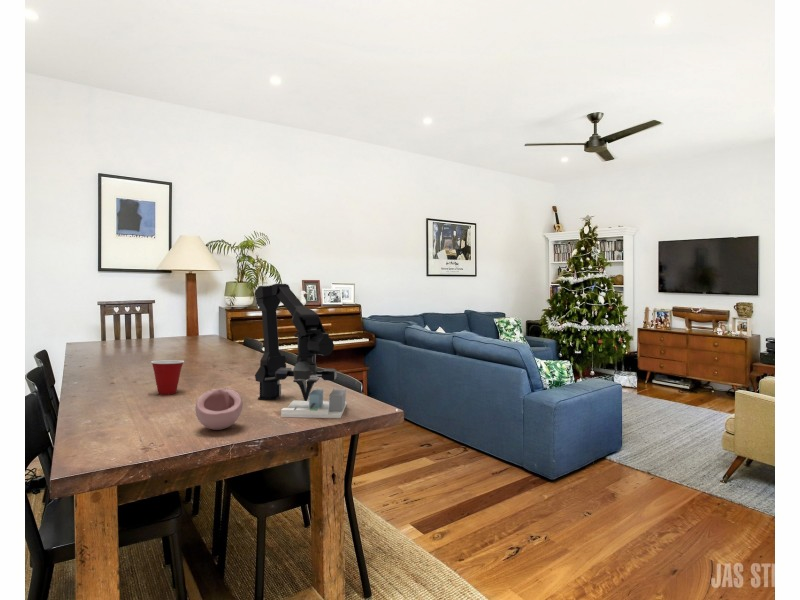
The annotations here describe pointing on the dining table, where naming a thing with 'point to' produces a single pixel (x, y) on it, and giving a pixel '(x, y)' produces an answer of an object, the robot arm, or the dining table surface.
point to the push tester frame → (326, 410)
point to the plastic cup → (167, 375)
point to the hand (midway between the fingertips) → (305, 400)
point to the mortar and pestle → (218, 408)
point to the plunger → (316, 398)
